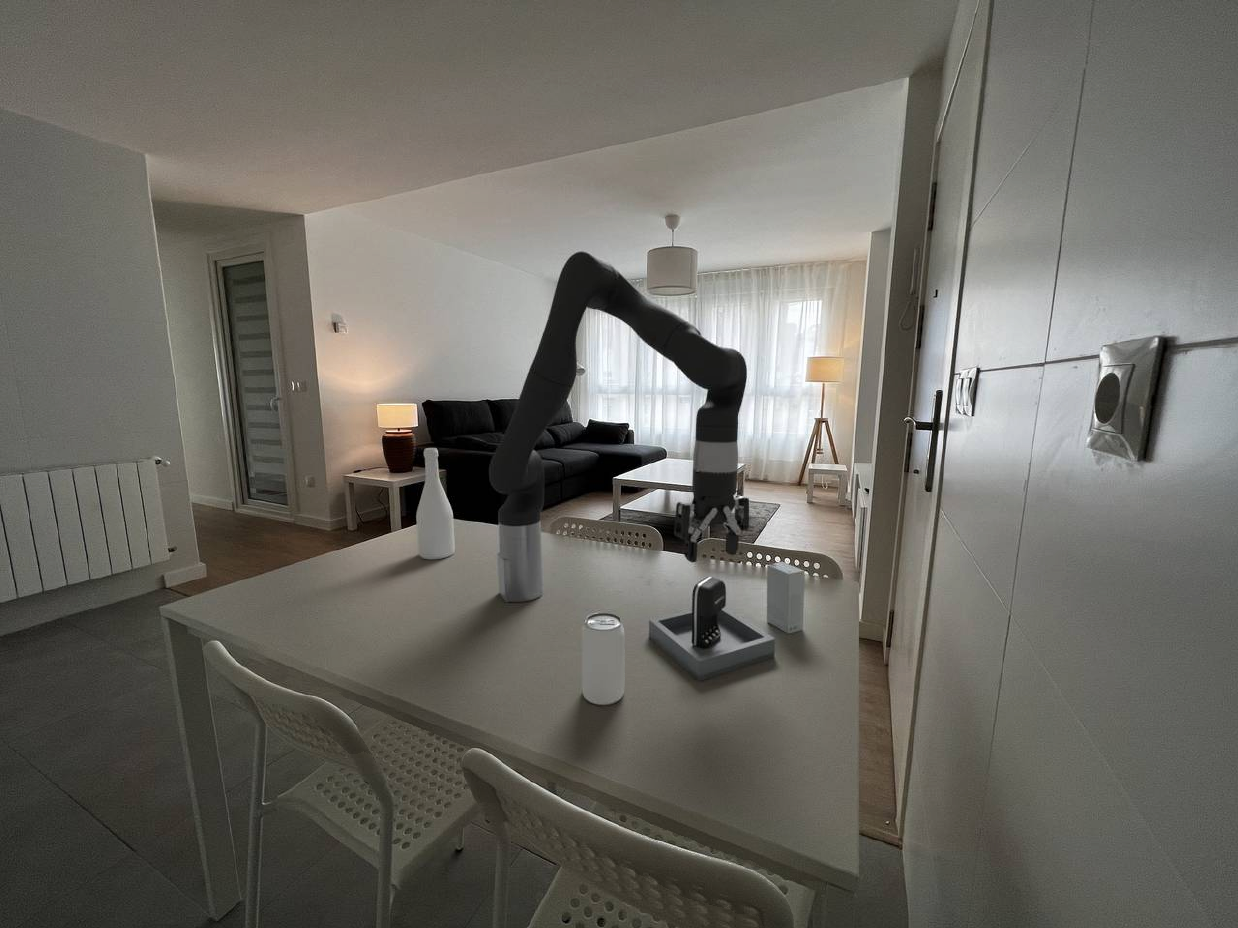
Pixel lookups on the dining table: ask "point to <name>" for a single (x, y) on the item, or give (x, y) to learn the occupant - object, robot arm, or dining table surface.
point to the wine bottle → (434, 514)
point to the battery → (707, 611)
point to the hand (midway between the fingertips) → (711, 557)
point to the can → (603, 658)
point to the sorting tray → (726, 654)
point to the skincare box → (785, 597)
